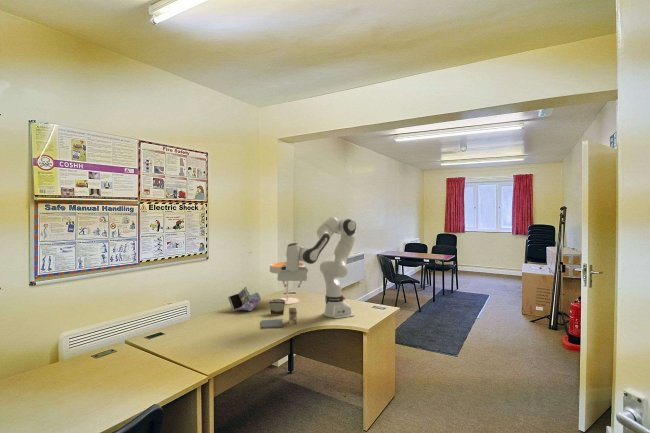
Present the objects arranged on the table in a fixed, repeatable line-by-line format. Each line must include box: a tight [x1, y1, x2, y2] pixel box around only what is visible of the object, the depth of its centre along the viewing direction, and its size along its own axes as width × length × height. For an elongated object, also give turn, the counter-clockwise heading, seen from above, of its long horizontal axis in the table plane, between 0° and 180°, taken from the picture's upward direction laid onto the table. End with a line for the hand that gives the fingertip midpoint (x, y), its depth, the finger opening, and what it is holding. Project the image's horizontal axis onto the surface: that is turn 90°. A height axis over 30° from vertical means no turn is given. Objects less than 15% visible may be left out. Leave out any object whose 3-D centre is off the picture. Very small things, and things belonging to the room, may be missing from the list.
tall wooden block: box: [288, 307, 298, 326], centre depth 225 cm, size 5×9×9 cm, turn 10°
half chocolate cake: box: [268, 298, 285, 316], centre depth 246 cm, size 12×6×10 cm, turn 84°
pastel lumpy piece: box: [227, 286, 262, 312], centre depth 256 cm, size 20×22×18 cm
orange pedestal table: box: [269, 261, 306, 306], centre depth 279 cm, size 30×30×31 cm
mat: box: [260, 318, 284, 330], centre depth 222 cm, size 14×14×1 cm
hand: (292, 287), depth 226 cm, fingers open, 8 cm apart
